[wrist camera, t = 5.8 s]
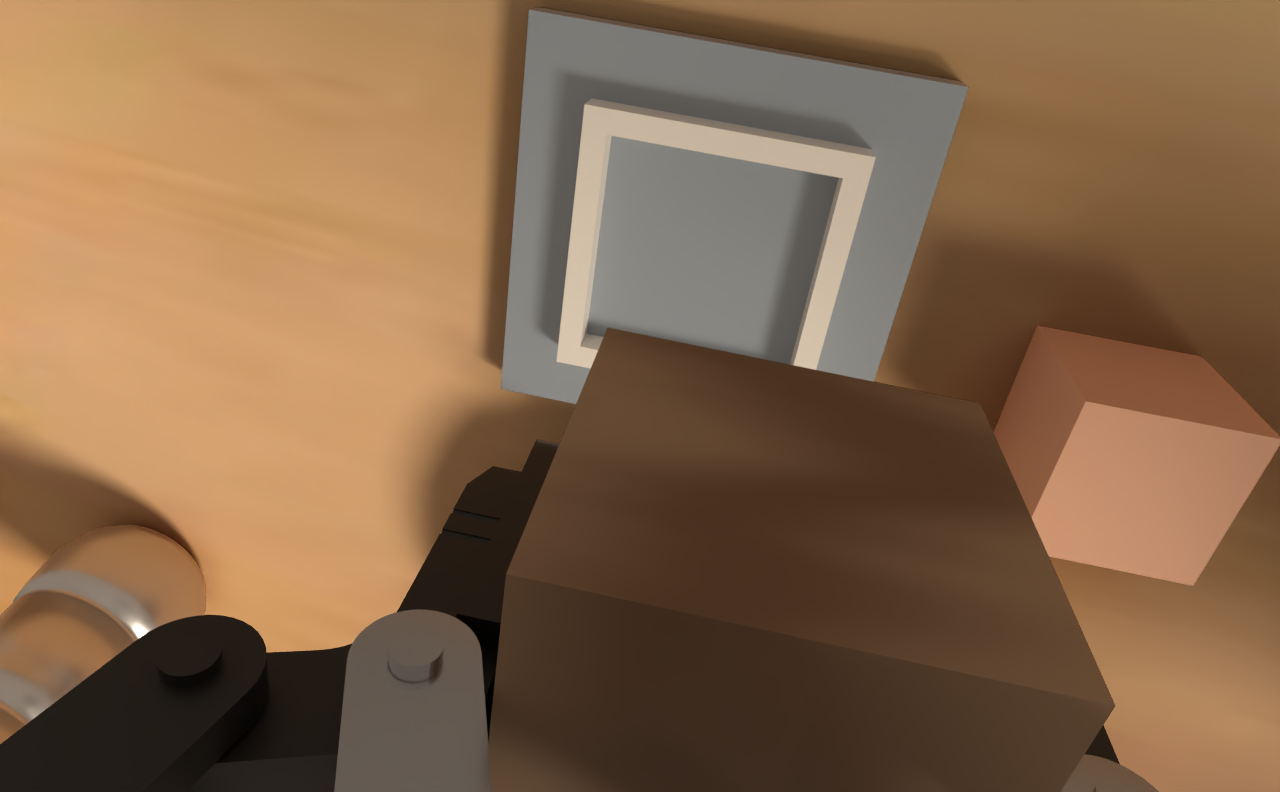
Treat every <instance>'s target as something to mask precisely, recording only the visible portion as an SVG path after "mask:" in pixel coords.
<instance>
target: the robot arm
mask: <svg viewBox="0 0 1280 792" xmlns="http://www.w3.org/2000/svg"><path fill="white" fill-rule="evenodd" d="M558 447H559V444H556V443H551V442H546V441H542V440H537V441H536V442H535V444H534V446H533V449H532V451H531V453H530V455H529V457H528V459H527V462H526V464H525V466H524V468H523V470H522V472H518V471H513V470H508V469H504V468H499V467H494V466H493V467H491V468H490V469H488V470H487V471H486V472H484V473H483V474H481V475H480V476H478V477H477V478H475V479H474V480H473V481H471V482H470V483H468V484H467V485H466V487H465V489H464V491H463V493H462V494H461V496H460V498H459V500H458V502H457V504H456V505H455V507H454V511H453V514H452V513H451V515H450V516H449V518H448V520H447V522H446V524H445V525H444V527H443V531H442V534H440V535H439V536H438V538H437V540H436V542H435V544H434V546H433V547H432V549H431V551H430V553H429V555H428V556H427V558H426V560H425V562H424V564H423V566H422V567H421V569H420V571H419V573H418V575H417V577H416V578H415V580H414V582H413V584H412V586H411V588H410V589H409V591H408V593H407V595H406V597H405V598H404V600H403V602H402V604H401V606H400V608H399V609H398V611H397V612H396V613H393V614H390V615H387V616H385V617H382V618H380V619H379V620H377V621H375V622H373V623H372V624H370V625H369V626H368V627H366V628H365V629H364V630H363V631H362V632H361V633H360V634H359V635H358V636H357V638H356V639H355V640H354V642H353V643H352V644H349V645H346V646H343V647H338V648H333V649H326V650H314V651H293V652H272V653H266V646H265V644H264V641H263V639H262V637H261V636H260V634H259V633H258V632H257V631H256V630H255V629H254V628H253V627H252V626H250V625H248V624H247V623H245V622H243V621H240V620H238V619H235V618H231V617H227V616H220V615H198V616H192V617H186V618H182V619H178V620H175V621H171V622H169V623H166V624H164V625H161V626H159V627H157V628H155V629H153V630H151V631H149V632H147V633H146V634H145V635H143V636H142V637H140V638H139V639H137V640H136V641H134V642H133V643H132V644H131V645H129V646H128V647H127V648H125V649H124V650H123V651H121V652H120V653H119V654H117V655H116V656H115V657H114V658H112V659H111V660H110V661H108V662H107V663H106V664H104V665H103V666H102V667H100V668H99V669H98V670H97V671H95V672H94V673H93V674H91V675H90V676H89V677H87V678H86V679H85V680H83V681H82V682H81V683H80V684H78V685H77V686H76V687H74V688H73V689H72V690H70V691H69V692H68V693H66V694H65V695H64V696H63V697H61V698H60V699H59V700H57V701H56V702H55V703H53V704H52V705H51V706H49V707H48V708H47V709H46V710H44V711H43V712H42V713H40V714H39V715H38V716H36V717H35V718H34V719H32V720H31V721H30V722H29V723H27V724H26V725H25V726H23V727H22V728H21V729H19V730H18V731H17V732H15V733H14V734H13V735H12V736H10V737H9V738H8V739H6V740H5V741H4V742H2V743H1V744H0V792H492V788H491V775H490V761H489V747H488V741H489V732H490V722H491V713H492V703H493V694H494V684H495V675H496V665H497V655H498V646H499V636H500V627H501V617H502V608H503V598H504V589H505V579H506V573H507V571H508V568H509V566H510V563H511V561H512V558H513V556H514V554H515V551H516V549H517V546H518V544H519V541H520V539H521V537H522V534H523V532H524V529H525V527H526V524H527V522H528V520H529V517H530V515H531V512H532V510H533V507H534V505H535V503H536V500H537V498H538V495H539V493H540V490H541V488H542V486H543V483H544V481H545V478H546V476H547V473H548V471H549V469H550V466H551V464H552V461H553V459H554V456H555V454H556V452H557V449H558ZM1061 792H1159V791H1158V790H1157V789H1156V788H1154V787H1153V786H1152V785H1151V784H1150V783H1148V782H1147V781H1146V780H1145V779H1143V778H1142V777H1140V776H1139V775H1137V774H1136V773H1134V772H1133V771H1131V770H1129V769H1128V768H1126V767H1124V766H1122V765H1120V764H1119V761H1118V759H1117V756H1116V754H1115V752H1114V749H1113V747H1112V745H1111V742H1110V740H1109V737H1108V735H1107V733H1106V730H1105V728H1104V725H1103V726H1102V728H1101V729H1100V731H1099V732H1098V734H1097V735H1096V737H1095V739H1094V740H1093V742H1092V743H1091V745H1090V746H1089V748H1088V750H1087V751H1086V753H1085V754H1084V756H1083V757H1082V759H1081V760H1080V762H1079V764H1078V765H1077V767H1076V768H1075V770H1074V771H1073V773H1072V775H1071V776H1070V778H1069V779H1068V781H1067V782H1066V784H1065V786H1064V787H1063V789H1062V790H1061Z"/></svg>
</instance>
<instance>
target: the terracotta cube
mask: <svg viewBox="0 0 1280 792" xmlns="http://www.w3.org/2000/svg"><path fill="white" fill-rule="evenodd" d="M993 433H994V435H995V437H996V439H997V442H998V444H999V446H1000V448H1001V450H1002V453H1003V455H1004V457H1005V459H1006V462H1007V464H1008V466H1009V468H1010V471H1011V473H1012V475H1013V477H1014V480H1015V482H1016V484H1017V486H1018V489H1019V491H1020V493H1021V495H1022V498H1023V500H1024V502H1025V504H1026V507H1027V509H1028V511H1029V513H1030V516H1031V518H1032V520H1033V522H1034V525H1035V527H1036V529H1037V531H1038V533H1039V536H1040V538H1041V540H1042V542H1043V545H1044V547H1045V549H1046V551H1047V554H1048V556H1050V557H1055V558H1060V559H1065V560H1070V561H1074V562H1079V563H1084V564H1089V565H1094V566H1099V567H1104V568H1108V569H1113V570H1118V571H1123V572H1128V573H1133V574H1138V575H1142V576H1147V577H1152V578H1157V579H1162V580H1167V581H1172V582H1176V583H1181V584H1186V585H1191V586H1193V585H1194V584H1195V582H1196V581H1197V579H1198V577H1199V576H1200V574H1201V572H1202V571H1203V569H1204V568H1205V566H1206V564H1207V563H1208V561H1209V559H1210V558H1211V556H1212V555H1213V553H1214V551H1215V550H1216V548H1217V546H1218V545H1219V543H1220V542H1221V540H1222V538H1223V537H1224V535H1225V533H1226V532H1227V530H1228V529H1229V527H1230V525H1231V524H1232V522H1233V520H1234V519H1235V517H1236V516H1237V514H1238V512H1239V511H1240V509H1241V507H1242V506H1243V504H1244V503H1245V501H1246V499H1247V498H1248V496H1249V494H1250V493H1251V491H1252V490H1253V488H1254V486H1255V485H1256V483H1257V482H1258V480H1259V478H1260V477H1261V475H1262V473H1263V472H1264V470H1265V469H1266V467H1267V465H1268V464H1269V462H1270V460H1271V459H1272V457H1273V456H1274V454H1275V452H1276V451H1277V449H1278V447H1279V446H1280V436H1279V435H1278V434H1277V433H1276V432H1275V431H1274V430H1273V429H1272V428H1271V427H1270V426H1269V425H1268V424H1267V423H1266V422H1265V421H1264V420H1263V419H1262V418H1261V417H1260V416H1259V414H1258V413H1257V412H1256V411H1255V410H1254V409H1253V408H1252V407H1251V406H1250V405H1249V404H1248V403H1247V402H1246V401H1245V400H1244V399H1243V398H1242V397H1241V396H1240V395H1239V394H1238V393H1237V392H1236V391H1235V390H1234V389H1233V388H1232V387H1231V386H1230V385H1229V384H1228V383H1227V382H1226V381H1225V380H1224V379H1223V378H1222V377H1221V376H1220V375H1219V374H1218V373H1217V372H1216V371H1215V370H1214V369H1213V368H1212V367H1211V366H1210V365H1209V363H1208V362H1207V361H1206V360H1205V359H1204V358H1203V357H1202V356H1196V355H1191V354H1186V353H1181V352H1175V351H1170V350H1165V349H1159V348H1154V347H1149V346H1143V345H1138V344H1133V343H1128V342H1122V341H1117V340H1112V339H1106V338H1101V337H1096V336H1090V335H1085V334H1080V333H1075V332H1069V331H1064V330H1059V329H1053V328H1048V327H1043V326H1038V325H1037V327H1036V330H1035V332H1034V334H1033V337H1032V339H1031V342H1030V344H1029V347H1028V349H1027V352H1026V354H1025V356H1024V359H1023V361H1022V364H1021V366H1020V369H1019V371H1018V373H1017V376H1016V378H1015V381H1014V383H1013V386H1012V388H1011V390H1010V393H1009V395H1008V398H1007V400H1006V403H1005V405H1004V407H1003V410H1002V412H1001V415H1000V417H999V420H998V422H997V425H996V427H995V429H994V432H993Z"/></svg>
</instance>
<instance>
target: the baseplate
mask: <svg viewBox="0 0 1280 792" xmlns="http://www.w3.org/2000/svg"><path fill="white" fill-rule="evenodd" d="M968 88H969V87H968V86H967V85H965V84H964V83H963V82H961V81H956V80H950V79H944V78H938V77H933V76H927V75H921V74H916V73H910V72H904V71H899V70H893V69H887V68H882V67H876V66H870V65H865V64H859V63H853V62H848V61H842V60H836V59H831V58H825V57H819V56H813V55H808V54H802V53H796V52H791V51H785V50H779V49H774V48H768V47H762V46H757V45H751V44H745V43H740V42H734V41H728V40H723V39H717V38H711V37H706V36H700V35H694V34H689V33H683V32H677V31H671V30H666V29H660V28H654V27H649V26H643V25H637V24H632V23H626V22H620V21H615V20H609V19H603V18H598V17H592V16H586V15H581V14H575V13H569V12H564V11H558V10H552V9H547V8H541V7H537V8H533V9H530V10H529V16H528V30H527V43H526V57H525V70H524V84H523V97H522V111H521V124H520V138H519V151H518V165H517V178H516V192H515V205H514V219H513V232H512V246H511V259H510V273H509V286H508V300H507V313H506V327H505V341H504V354H503V368H502V381H501V389H504V390H509V391H514V392H519V393H524V394H529V395H534V396H538V397H543V398H548V399H553V400H558V401H563V402H568V403H573V404H576V403H577V401H578V398H579V396H580V393H581V391H582V388H583V386H584V384H585V381H586V379H587V376H588V374H589V371H590V369H591V367H592V364H593V362H594V359H595V357H596V354H597V352H598V349H599V347H600V345H601V342H602V340H603V337H604V335H605V332H606V330H607V328H613V329H618V330H622V331H627V332H632V333H637V334H642V335H647V336H652V337H657V338H662V339H667V340H672V341H677V342H681V343H686V344H691V345H696V346H701V347H706V348H711V349H716V350H721V351H726V352H731V353H735V354H740V355H745V356H750V357H755V358H760V359H765V360H770V361H775V362H780V363H785V364H790V365H794V366H799V367H804V368H809V369H814V370H819V371H824V372H829V373H834V374H839V375H844V376H849V377H853V378H858V379H863V380H868V381H873V382H874V380H875V377H876V373H877V370H878V367H879V364H880V361H881V358H882V355H883V352H884V349H885V346H886V342H887V339H888V336H889V333H890V330H891V327H892V324H893V321H894V318H895V314H896V311H897V308H898V305H899V302H900V299H901V296H902V293H903V290H904V287H905V283H906V280H907V277H908V274H909V271H910V268H911V265H912V262H913V259H914V255H915V252H916V249H917V246H918V243H919V240H920V237H921V234H922V231H923V228H924V224H925V221H926V218H927V215H928V212H929V209H930V206H931V203H932V200H933V196H934V193H935V190H936V187H937V184H938V181H939V178H940V175H941V172H942V169H943V165H944V162H945V159H946V156H947V153H948V150H949V147H950V144H951V141H952V137H953V134H954V131H955V128H956V125H957V122H958V119H959V116H960V113H961V109H962V106H963V103H964V100H965V97H966V94H967V91H968Z"/></svg>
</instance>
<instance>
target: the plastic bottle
mask: <svg viewBox="0 0 1280 792" xmlns="http://www.w3.org/2000/svg"><path fill="white" fill-rule="evenodd" d="M205 611H206V584H205V580H204V576H203V574H202V572H201V570H200V568H199V566H198V565H197V563H196V562H195V560H194V559H193V557H192V556H191V555H190V554H189V553H188V552H187V551H186V550H185V549H184V548H183V547H182V546H180V545H179V544H178V543H177V542H175V541H174V540H172V539H171V538H169V537H168V536H166V535H164V534H162V533H160V532H158V531H155V530H153V529H150V528H146V527H143V526H137V525H116V526H107V527H101V528H97V529H93V530H91V531H89V532H87V533H85V534H84V535H82V536H80V537H79V538H77V539H75V540H74V541H72V542H70V543H69V544H67V545H65V546H64V547H62V548H60V549H59V550H57V551H55V552H54V553H53V554H52V555H51V556H50V557H49V558H48V560H47V561H46V562H45V563H44V564H43V565H42V566H41V567H40V568H39V570H38V571H37V572H36V573H35V574H34V575H33V576H32V577H31V578H30V579H29V581H28V582H27V583H26V584H25V585H24V587H23V588H22V589H21V591H20V592H19V593H18V595H17V596H16V597H15V599H14V601H13V603H12V604H11V605H10V606H9V607H8V608H7V609H6V610H5V611H4V612H3V613H2V614H1V615H0V744H1V743H2V742H4V741H5V740H6V739H8V738H9V737H10V736H12V735H13V734H14V733H15V732H17V731H18V730H19V729H21V728H22V727H23V726H25V725H26V724H27V723H29V722H30V721H31V720H32V719H34V718H35V717H36V716H38V715H39V714H40V713H42V712H43V711H44V710H46V709H47V708H48V707H49V706H51V705H52V704H53V703H55V702H56V701H57V700H59V699H60V698H61V697H63V696H64V695H65V694H66V693H68V692H69V691H70V690H72V689H73V688H74V687H76V686H77V685H78V684H80V683H81V682H82V681H83V680H85V679H86V678H87V677H89V676H90V675H91V674H93V673H94V672H95V671H97V670H98V669H99V668H100V667H102V666H103V665H104V664H106V663H107V662H108V661H110V660H111V659H112V658H114V657H115V656H116V655H117V654H119V653H120V652H121V651H123V650H124V649H125V648H127V647H128V646H129V645H131V644H132V643H133V642H134V641H136V640H137V639H139V638H140V637H142V636H143V635H145V634H146V633H147V632H149V631H151V630H153V629H155V628H157V627H159V626H161V625H164V624H166V623H169V622H171V621H175V620H178V619H182V618H186V617H192V616H198V615H205Z"/></svg>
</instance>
